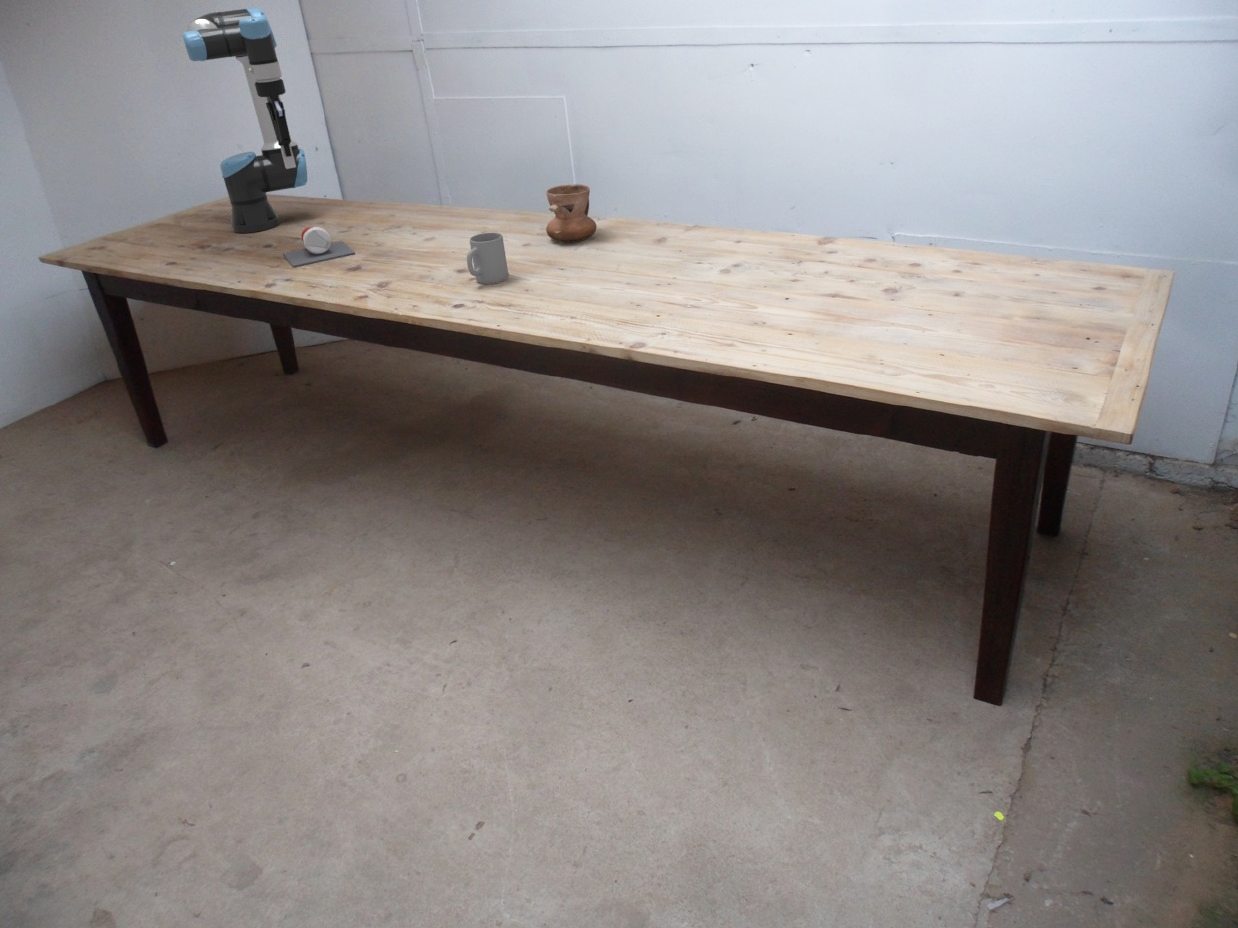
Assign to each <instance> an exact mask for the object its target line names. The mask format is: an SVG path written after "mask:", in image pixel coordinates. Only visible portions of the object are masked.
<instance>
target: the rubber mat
mask: <svg viewBox="0 0 1238 928" xmlns="http://www.w3.org/2000/svg"><path fill="white" fill-rule="evenodd" d="M355 254H356V252H355V251H354V250H353V249H352V248H350V247H349V246H348V245H347V244H346V242H344V241H343V240H341V241H340V240H339V241H335V242H331V244H330V247H329V249H328V250H327V251H326V252H324V253H322V254H314V253H312V252H310V251H309V250H307V248H306V247H305V248H302V249H297V250H293V251H292V250H291V251H288V252H284V253H282V255H283V257H284V258H285V259H286V260H287V262H288V263H289V264H290V266H291V267H292V268H297V267H298V266H299V267H303V266H308V265H312V264H316V263H321V262H325V261H331V260H335V259H340V258H343V257H348V256H353V255H355Z"/></svg>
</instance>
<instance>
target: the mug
mask: <svg viewBox="0 0 1238 928" xmlns="http://www.w3.org/2000/svg"><path fill="white" fill-rule="evenodd" d="M469 244H470V245H469V246H470V250H469V251H468V253H467V255H466V264H467V265H466V266H467V269H468V271H469V274H470V275H471V276H473V277H475V281H476V282H477V283H478V284H482V285H495V284H499V283H503V282H505V281H506V280H508V279H509V269H508V262H507V257H506V251H505V244H504V237H503V235H502V234H501V233H499V232H483V233H479V234H475V235H473V236H472V237H470V238H469Z"/></svg>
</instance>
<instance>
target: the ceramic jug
mask: <svg viewBox="0 0 1238 928" xmlns="http://www.w3.org/2000/svg"><path fill="white" fill-rule="evenodd" d="M590 193H591V192H590V187H589V186H588V185H587V184H586V185H585V184H580V183H567V184H560V185H556V186H552V187H550V188H547V189H546V191H545V194H546V198H547V201H548V203H549V206H550V207H549V208H548V210H549V211H550V212H551V213H553V214H554V215H555V216H554V217H553V218H552V219H551V220H550V221H549V222H548V223H547V225H546V228H545V231H546V234H547V236H548V237H549V238H550V239H552V241H553V240H554V241H556V242H560V243H561V242H562V243H575V242H580V241H583V240H586V239H589V238H590V237H592V236H593V235H594V234H595V233H596V230H597V223H596V222H595V220H594V219H593V218H591V217H590V216H589V211H590V210H589V209H590Z"/></svg>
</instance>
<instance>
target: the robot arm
mask: <svg viewBox="0 0 1238 928" xmlns="http://www.w3.org/2000/svg"><path fill="white" fill-rule="evenodd" d="M182 38H183V41H184V45H185V49H186V52H187V55H188V58H189V60H191V62H205V61H210V60H217V59H219V60H220V59H226V58H232V57H233V58H234V57H235V59H236V60H237V61H238V62H239V63H241V64H242V67H243V70H244V73H245V77H246V81H247V84H248V88H249V92H250V95H251V96H250V97H251V99H252V103H253V107H254V111H255V114H256V117H257V121H258V125H259V129H260V132H261V136H262V139H263V144H262V147H261V149H260V151H261V155H256V153H255V152H254V151H247V152H241V153H238V154H234V155H232V156H229V157H227V158H225V159H223V160H222V161H221V163H220V171H221V175H222V176H221V177H222V179H223V181H224V185H225V188H226V192H227V195H228V198H229V202H230V205H231V228H232V231H233V232H234V233H237V234H238V233H239V234H249V233H256V232H263V231H267V230H269V229H272V228H276V227H277V226H279V225H280V218H279V216H278V214H277V213H276V211H275V209H274V208H273V206H272V204H271V203H270V202H269V199H268V197H267V196H268V195H267V193H270V192H276V191H283V190H288V189H296V188H299V187H304V186H306V185H307V183H308V169H307V168H308V166H307V162H306V161H307V160H306V156H305V151H304V149H303V148H299V145H298V143H297V142H296V141H294V140H293V139H292V137H291V134H290V130H289V125H288V122H287V117H286V109H285V108H284V107H285V106H284V103H283V101H282V98H281V96H282V95H284V94H286V88H285V84H284V80H283V79H282V76H283V75H282V71H281V66H280V62H279V60H278V57H277V53H276V48H277V41H276V39H275V36H274V33H273V31H272V28H271V25H270V23H269V20H268V18H267V15H266V14H265V12H264V11H263V10H262V9H261V8H256V7H255V8H243V9H236V10H235V9H234V10H233V9H232V10H226V11H218V12H216V11H214V12H210V13H206V14H204V15H201V16H199V17H197V18H196V19H194V20H192V21H191V22H190V23H189V25H188V27H187V30H186V31H184V32H183V33H182Z"/></svg>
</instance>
